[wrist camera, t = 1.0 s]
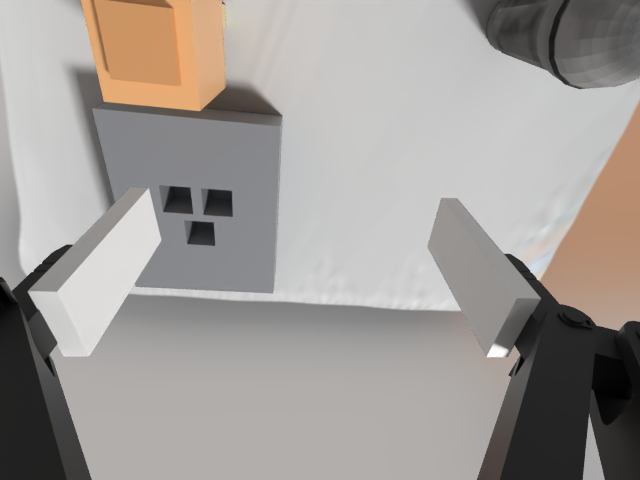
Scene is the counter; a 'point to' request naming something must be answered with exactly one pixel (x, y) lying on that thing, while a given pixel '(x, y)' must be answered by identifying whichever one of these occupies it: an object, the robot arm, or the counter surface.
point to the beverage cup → (571, 38)
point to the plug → (158, 51)
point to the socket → (200, 191)
